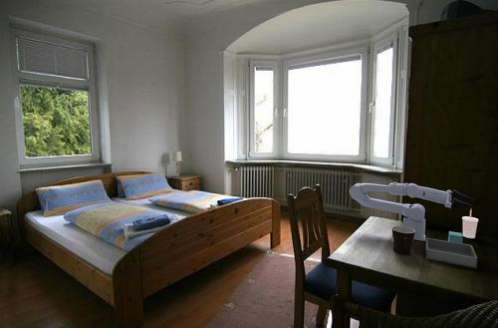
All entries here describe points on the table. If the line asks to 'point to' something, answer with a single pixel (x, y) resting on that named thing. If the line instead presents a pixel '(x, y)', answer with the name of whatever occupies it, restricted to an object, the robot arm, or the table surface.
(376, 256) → the table surface
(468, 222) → the beverage cup
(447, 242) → the gray tray
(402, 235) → the coffee mug
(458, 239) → the teal block
